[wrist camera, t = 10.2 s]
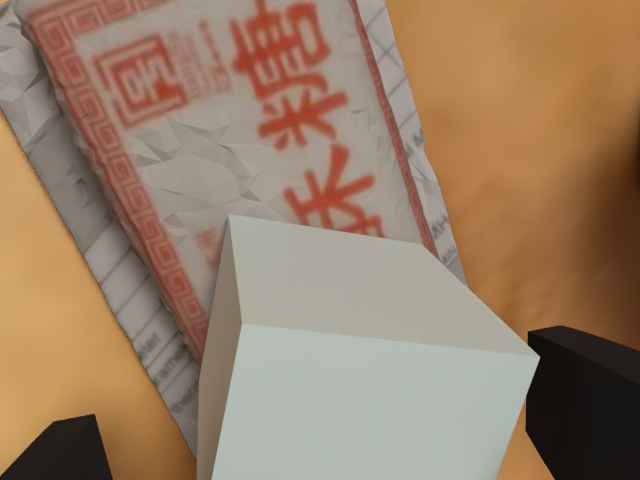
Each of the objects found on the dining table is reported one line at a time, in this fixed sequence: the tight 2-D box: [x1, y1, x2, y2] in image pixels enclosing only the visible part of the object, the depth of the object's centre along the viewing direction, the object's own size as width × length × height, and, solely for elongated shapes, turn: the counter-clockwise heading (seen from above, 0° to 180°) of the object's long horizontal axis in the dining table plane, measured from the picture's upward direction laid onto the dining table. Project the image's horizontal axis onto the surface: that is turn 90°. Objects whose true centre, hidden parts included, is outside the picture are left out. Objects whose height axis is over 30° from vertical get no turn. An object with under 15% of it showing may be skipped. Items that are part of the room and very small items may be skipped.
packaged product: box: [0, 0, 468, 461], centre depth 16 cm, size 18×5×10 cm
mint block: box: [197, 214, 540, 480], centre depth 11 cm, size 4×4×5 cm
